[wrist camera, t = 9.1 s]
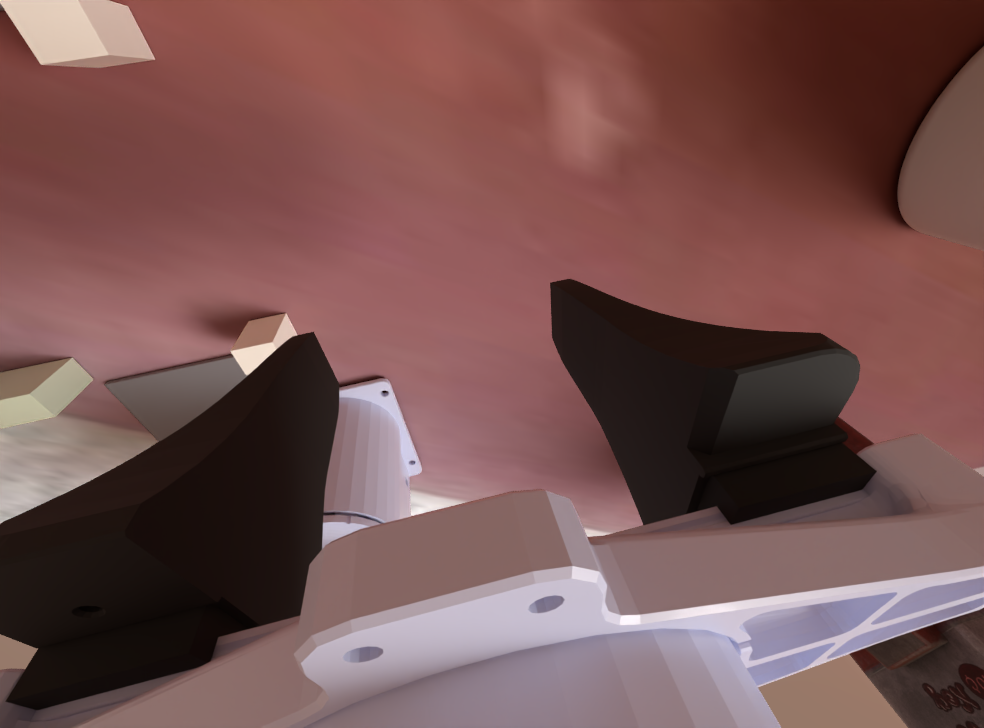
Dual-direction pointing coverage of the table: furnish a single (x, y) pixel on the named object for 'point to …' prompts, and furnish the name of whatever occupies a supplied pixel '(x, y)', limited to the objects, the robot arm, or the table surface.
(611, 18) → the table surface
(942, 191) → the cylinder vase
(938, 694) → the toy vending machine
